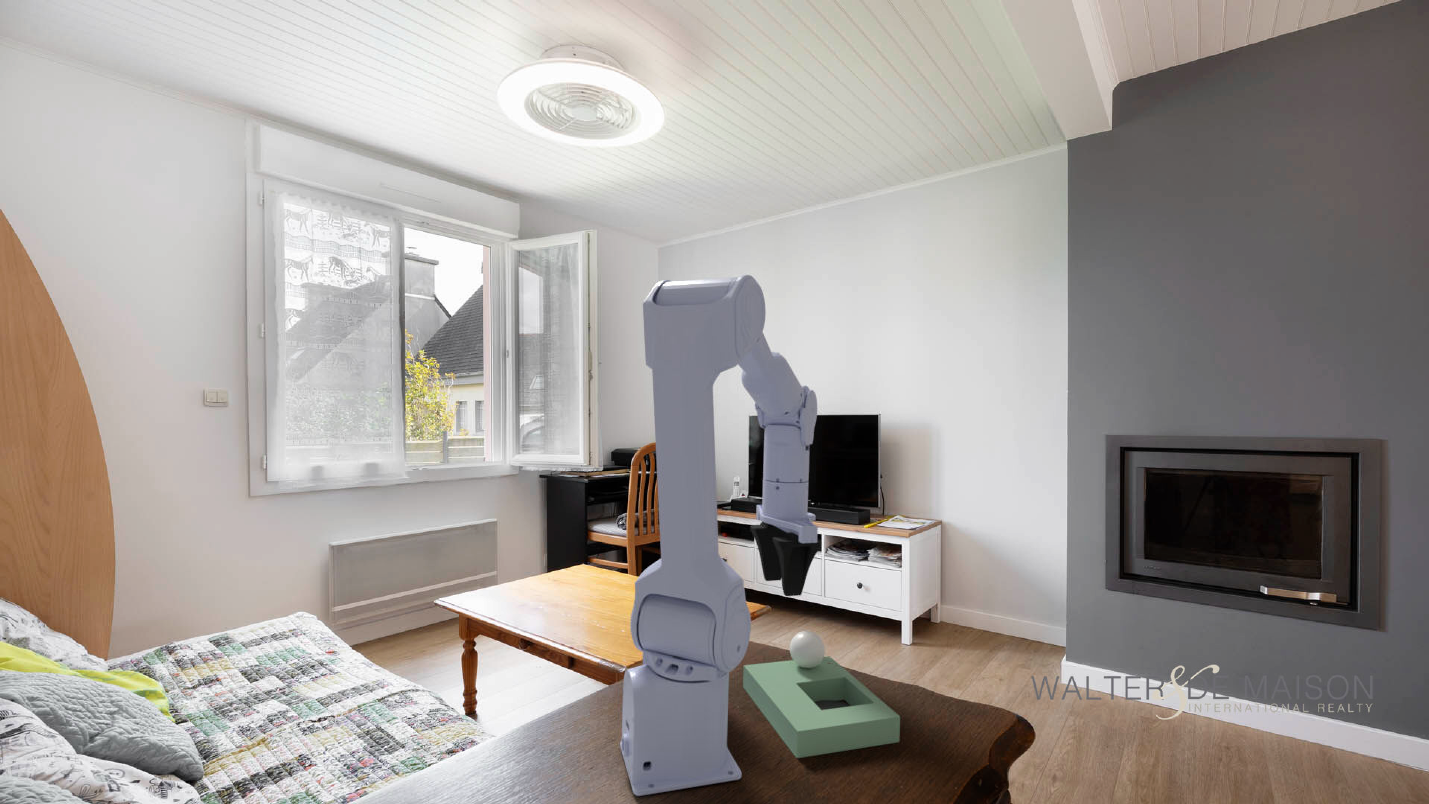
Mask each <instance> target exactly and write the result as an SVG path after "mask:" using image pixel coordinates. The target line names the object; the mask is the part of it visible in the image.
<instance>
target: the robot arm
mask: <svg viewBox="0 0 1429 804" xmlns="http://www.w3.org/2000/svg"><path fill="white" fill-rule="evenodd" d="M642 311H643V312H642V314H643V315H642V317H643V333H644V334H643V336H644V339H643V340H644V352H645V353H644V357H645V365H646V366H647V367H648V368H650V369H651V370H652V372H651V374H652V393H653V395H652V396H653V415H654V434H655V435H654V436H655V437H654V438H655V456H656V457H655V458H656V476H657V477H656V478H657V479H656V480H657V497H658V498H657V499H658V501H657V502H658V519H659V521H658V522H659V540H660V543H659V544H660V558H659V559H658V560H657V561H655V562H653V563H652V564H651V565H649V566H647V568H645V569H644V570H643V572H641V573H640V575H639V576H638V578H637V579H636V580H635V582H634V592H635V593H634V599H633V600H634V602H633V607H632V610H631V615H630V623H629V626H630V634H631V639H632V643H633V645H634V647H635V648H636V649H637V650H638V651H640V652H642V665H639V666H635V667H631V668H628V669H626V670H625V672H624V676H623V684H622V685H623V686H622V687H623V688H622V711H621V712H622V713H621V714H622V715H621V716H622V717H621V718H622V719H621V720H622V721H621V741H620V743H619V744H620V745H619V747H620V750H621V754H622V757H623V761H624V765H625V767H626V771H627V775H628V779H629V782H630V786H631V789H632V793H633V794H634V795H635V796H637V797H641V796H646V795H648V796H649V795H652V794H658V793H664V792H671V791H676V790H683V789H688V788H694V787H701V786H707V785H713V784H720V783H726V782H731V781H738V780H740V779H741V778H742V775H743V774H742V771H741V769H740V766H739V765H738V764H737V762H736V760H735V759H734V757H733V755H732V753H731V752H730V750H729V748H728V720H729V719H728V718H729V717H728V715H729V714H728V713H729V712H728V711H729V687H730V685H729V684H730V679H729V678H730V672H733V670H735V669H736V667H737V666H739V665H740V664H741V662H742V661H743V659H744V658H745V655H746V653H747V650H748V646H749V643H750V639H751V629H752V628H751V627H752V617H751V612H750V609H749V607H748V605H747V600H746V591H745V587H744V585H745V584H744V579H743V577H741V576H740V575H739V573H737V572H736V571H735V569H734V568H732V567H731V566H730V565H729V564H728V563H727V562H726V560H724V559H723V558H722V557H721V555H720V553H719V529H718V528H719V526H718V525H719V524H718V504H717V503H718V502H717V501H718V499H717V471H716V470H717V469H716V443H715V441H716V440H715V439H716V438H715V415H714V413H715V411H714V409H715V408H714V384H715V382H716V380H718V377H719V376H720V375H721V373H723V372H725V371H727V370H730V369H732V368H736V366H739V367H740V368H741V370H742V372H741V384H742V386H743V387H744V389H745V390H746V392H747V393H748V395H749V396H750V397H751V398H752V400H753V401H754V402H755V403H754V408H755V412H756V415H757V420H758V424H759V427H760V428H762V429H764V437H763V439H764V440H763V470H762V471H763V472H762V474H763V475H762V502H761V503H762V504H756V513H755V515H756V517H755V518H756V520H758V521H761V522H760V523H759V524H751V525H750V527H749V529H750V532H751V534H752V536H753V538H754V540H755V543H756V546H757V549H758V553H759V558H760V563H761V564H760V565H761V568H762V574H763V578H764V580H765V582H772V581H773V582H774V581H775V582H776V581H781V588H782V593H783V595H784V596H786V597H795V596H797V597H799V596H802V594H803V590H804V588H805V584H806V580H807V576H808V574H809V569H810V567H811V565H812V562H813V560H814V559H815V557H816V555H817V553H818V551H819V550H820V549H821V547H822V540H820V539H818V530H819V529H818V526H817V525H816V524H814V523H813V522H814V521H816V515H815V514H814V513H811V512H808V505H809V504H808V503H809V501H808V500H809V479H810V478H809V476H810V475H809V473H810V445H813V442H814V435H815V433H814V432H815V426H816V422H817V417H818V400H817V395H816V392H815V390H813V389H811V390H810V388H809V386H807V385H801V383H800V381H799V379H798V378H797V375H796V374H795V372H794V370H793V369H792V367H791V366H790V364H789V362H788V360H787V359H786V358H785V357H784V356H783V355H782V354H781V353H780V352H775V351H771V348H770V346H769V344H768V342H767V339H766V337H765V334H764V332H763V330H764V328H765V322H766V313H767V312H766V301H765V296H764V291H763V289H762V287H761V286H760V284H759V283H758V281H757V280H756V279H755V277H754V276H752V275H750V274H742V275H740V276H735V277H721V278H718V277H717V278H703V279H701V278H700V279H687V280H674V281H672V280H670V279H664V280H660V281H657V282H656V284H655V285H654V286H653V287H652V289H651V290H650V292H649V294H648V295H647V296H646V298H645V299H644V301H643V302H642Z"/></svg>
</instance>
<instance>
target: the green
mask: <svg viewBox="0 0 1429 804" xmlns="http://www.w3.org/2000/svg"><path fill="white" fill-rule="evenodd" d="M828 663H830V664H828ZM835 665H836V666H835ZM842 667H843V666H842V665H840V664H839V662H837V661H836V660H835V659H834V658H832V657H831V656H827V655H826V656H824V658H823V660H822V661H821V663H820V664H819V665H817V666H816V667H813V668H803V667H801V666H799V665H798V664H796V663H795V661H794V660H793V659H790V660H781V661H780V660H779V661H773V662H772V661H771V662H765V663H764V662H763V663H755V664H753V663H752V664H745V665H744V664H743V671H742V674H743V676H742V677H743V678H742V679H743V680H742V688H743V689H744V691H745V693H747V694H748V696H749V697H750V698H751V700H752V701H753V703H754V704H755V705H756V706H757V708H758V709H759V710H760V713H762V715H763V716H764V717H765V718H766V720H767V721H768V722H769V723H770V725H771V726H772V728H773V729H774V730H775V732H776V733H777V735H779V737H780V739H781V740H782V741H783V742H784V744H785V745H786V747H788V748H787V749H788V750H789V751H791V754H793V756H794V757H795V758H796V759H800V758H801V759H802V758H807V757H808V758H809V757H813V756H819V755H825V754H833V753H839V752H845V751H850V750H858V749H863V748H868V747H876V746H883V745H889V744H896V743H900V734H901V733H900V731H901V729H900V727H901V716H900V715H899V714H898V713H897V712H896V711H894V710H893V709H892V708H891V707H889V705H887V704H886V703H885V702H884V701H883V700H882V699H880V697H878V696H877V695H876V694H874V693H873V692H872V691H871V690H870V689H869V688H868V687H866V686H865V685H864V684H863V683H861V681H859V680H858V679H857V678H856V677H855V676H853V675H852V674H851V673H850V671H848V670H847V669H846V668H844V667H843V668H842ZM843 700H844V701H845V702H847V703H845V702H842V701H843Z"/></svg>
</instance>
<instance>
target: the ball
mask: <svg viewBox="0 0 1429 804" xmlns="http://www.w3.org/2000/svg"><path fill="white" fill-rule="evenodd" d="M825 647H826V646H825V643H824V641H823V640H822V638H821V637H820V636H819V634H817V633H815V632H814V631H810V630H803V631H802V630H801V631H800V632H797V633H796V634H795V635H794V636H793V637H792V638H791V640H790V643H789V653H790V658H791V660H794V661H795V663H796V664H798V665H799V666H801V667H803V668H813V667H816V666H817V665H819V664H820V663H821V661H822V660H823V658H824V657H825V654H826V649H825Z"/></svg>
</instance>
